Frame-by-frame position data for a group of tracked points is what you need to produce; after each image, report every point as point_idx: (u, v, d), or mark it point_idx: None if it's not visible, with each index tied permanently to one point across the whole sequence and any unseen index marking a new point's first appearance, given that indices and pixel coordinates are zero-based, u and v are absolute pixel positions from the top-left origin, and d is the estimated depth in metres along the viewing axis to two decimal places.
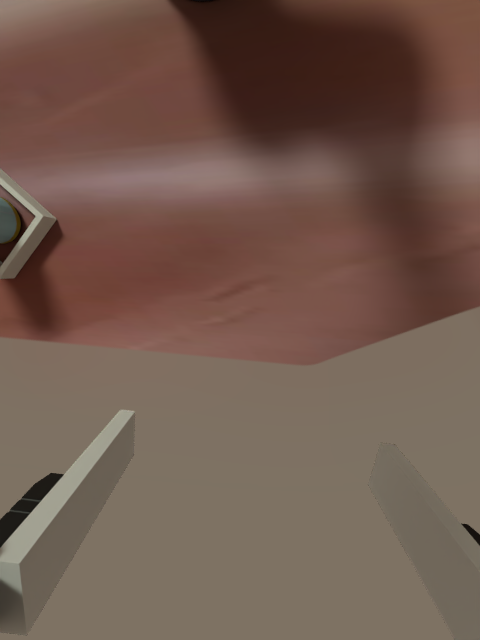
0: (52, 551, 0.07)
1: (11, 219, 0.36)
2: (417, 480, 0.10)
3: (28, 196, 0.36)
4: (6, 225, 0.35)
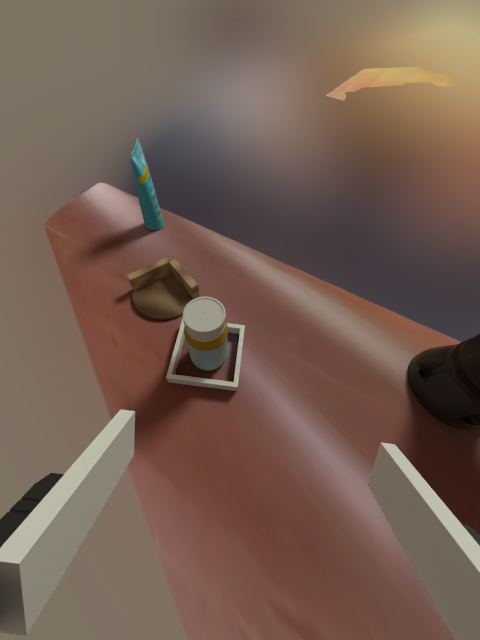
0: (52, 551, 0.07)
1: (218, 365, 0.44)
2: (417, 480, 0.10)
3: None
4: (213, 366, 0.43)
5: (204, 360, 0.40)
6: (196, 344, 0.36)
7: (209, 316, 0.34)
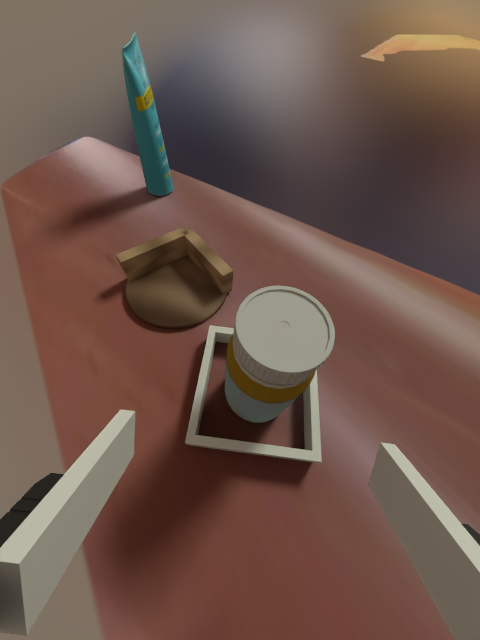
0: (52, 551, 0.07)
1: (277, 415, 0.24)
2: (417, 480, 0.10)
3: None
4: (271, 417, 0.23)
5: (262, 413, 0.20)
6: (258, 392, 0.16)
7: (297, 332, 0.14)
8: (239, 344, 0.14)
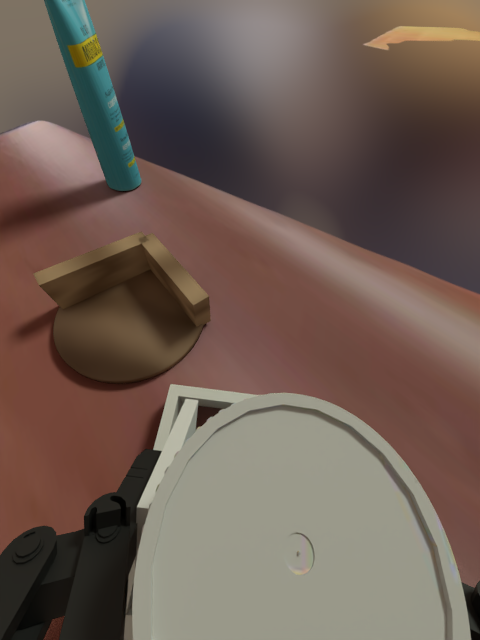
0: None
1: None
2: None
3: None
4: None
5: None
6: None
7: (342, 583, 0.04)
8: None
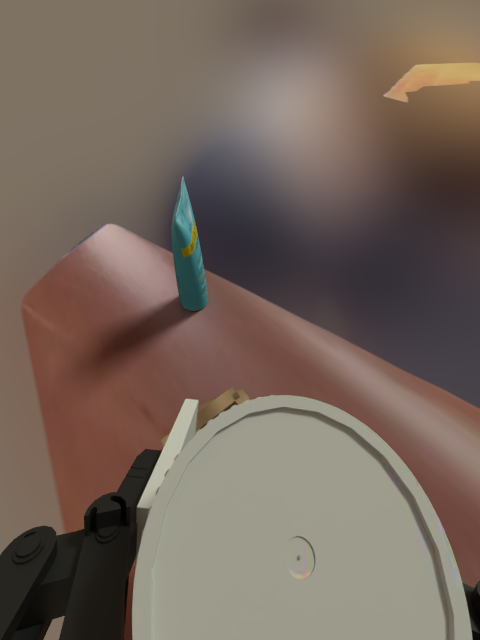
0: None
1: None
2: None
3: None
4: None
5: None
6: None
7: (343, 587, 0.04)
8: None
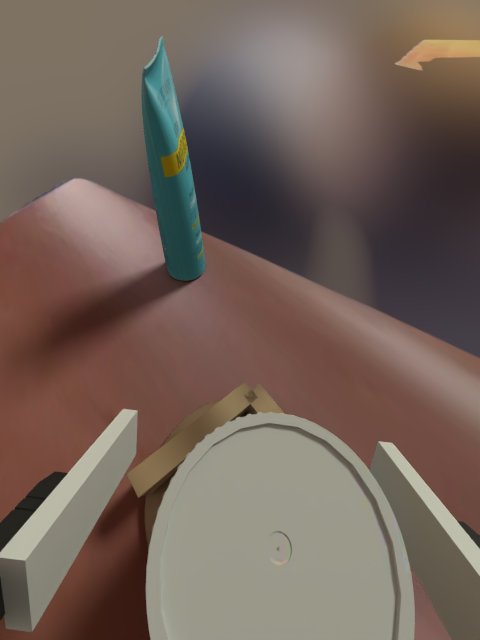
0: (57, 548, 0.07)
1: None
2: (414, 478, 0.10)
3: None
4: None
5: None
6: None
7: (313, 572, 0.06)
8: None
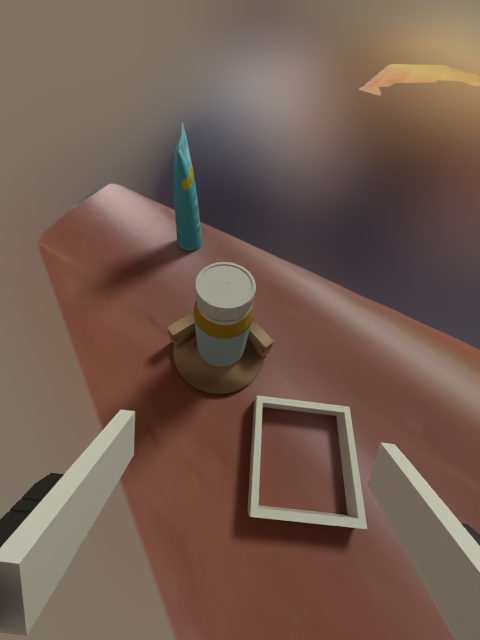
0: (52, 551, 0.07)
1: (235, 360, 0.34)
2: (417, 480, 0.10)
3: None
4: (229, 361, 0.33)
5: (220, 352, 0.30)
6: (212, 329, 0.26)
7: (233, 288, 0.24)
8: (197, 294, 0.23)
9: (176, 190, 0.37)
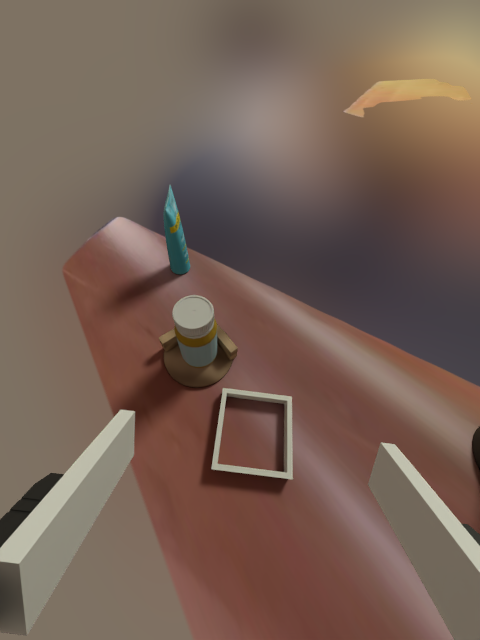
0: (52, 551, 0.07)
1: (208, 362, 0.46)
2: (417, 480, 0.10)
3: None
4: (203, 363, 0.45)
5: (194, 356, 0.42)
6: (186, 341, 0.38)
7: (198, 314, 0.36)
8: None
9: (166, 233, 0.49)
